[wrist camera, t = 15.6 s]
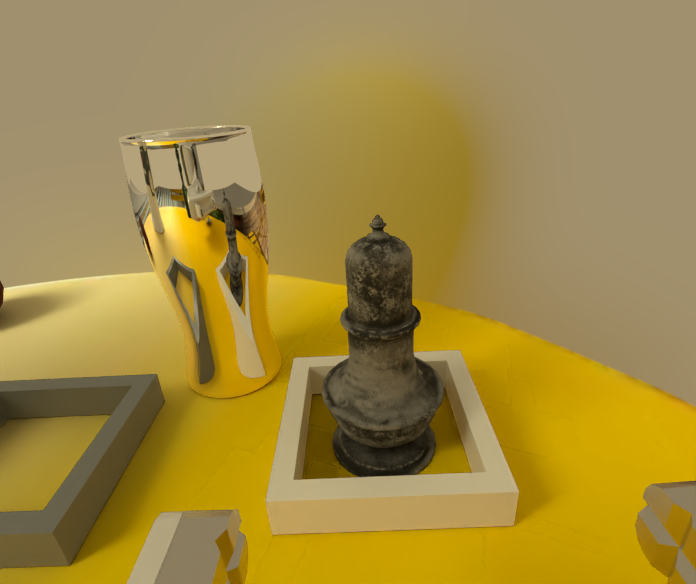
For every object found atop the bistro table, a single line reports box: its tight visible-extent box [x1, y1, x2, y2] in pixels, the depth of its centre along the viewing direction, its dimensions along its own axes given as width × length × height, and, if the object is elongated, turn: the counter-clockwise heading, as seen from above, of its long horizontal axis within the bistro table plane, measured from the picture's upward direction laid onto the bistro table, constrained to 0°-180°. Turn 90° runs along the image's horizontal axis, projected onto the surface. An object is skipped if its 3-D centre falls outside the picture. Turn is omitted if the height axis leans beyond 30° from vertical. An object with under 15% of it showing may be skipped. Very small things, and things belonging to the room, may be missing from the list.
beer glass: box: [119, 125, 281, 398], centre depth 26 cm, size 7×7×15 cm
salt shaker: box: [322, 215, 444, 477], centre depth 20 cm, size 6×6×12 cm
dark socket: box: [0, 374, 165, 568], centre depth 22 cm, size 10×10×2 cm
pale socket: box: [265, 350, 519, 535], centre depth 22 cm, size 10×10×2 cm
